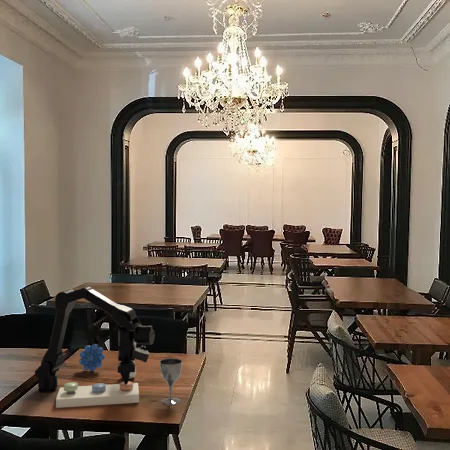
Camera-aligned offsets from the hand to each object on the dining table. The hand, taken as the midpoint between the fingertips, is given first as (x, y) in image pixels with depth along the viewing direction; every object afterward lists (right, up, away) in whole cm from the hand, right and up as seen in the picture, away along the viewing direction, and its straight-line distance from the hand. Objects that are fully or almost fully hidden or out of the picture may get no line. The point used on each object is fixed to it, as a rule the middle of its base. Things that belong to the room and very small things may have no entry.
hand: (126, 383), depth 191 cm
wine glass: (+17, -6, -3) cm, 18 cm away
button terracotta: (0, -4, 0) cm, 4 cm away
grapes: (-20, -4, +30) cm, 36 cm away
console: (-10, -5, -2) cm, 11 cm away
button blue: (-10, -4, -2) cm, 11 cm away
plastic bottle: (-3, -4, +21) cm, 22 cm away
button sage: (-20, -3, -4) cm, 20 cm away
